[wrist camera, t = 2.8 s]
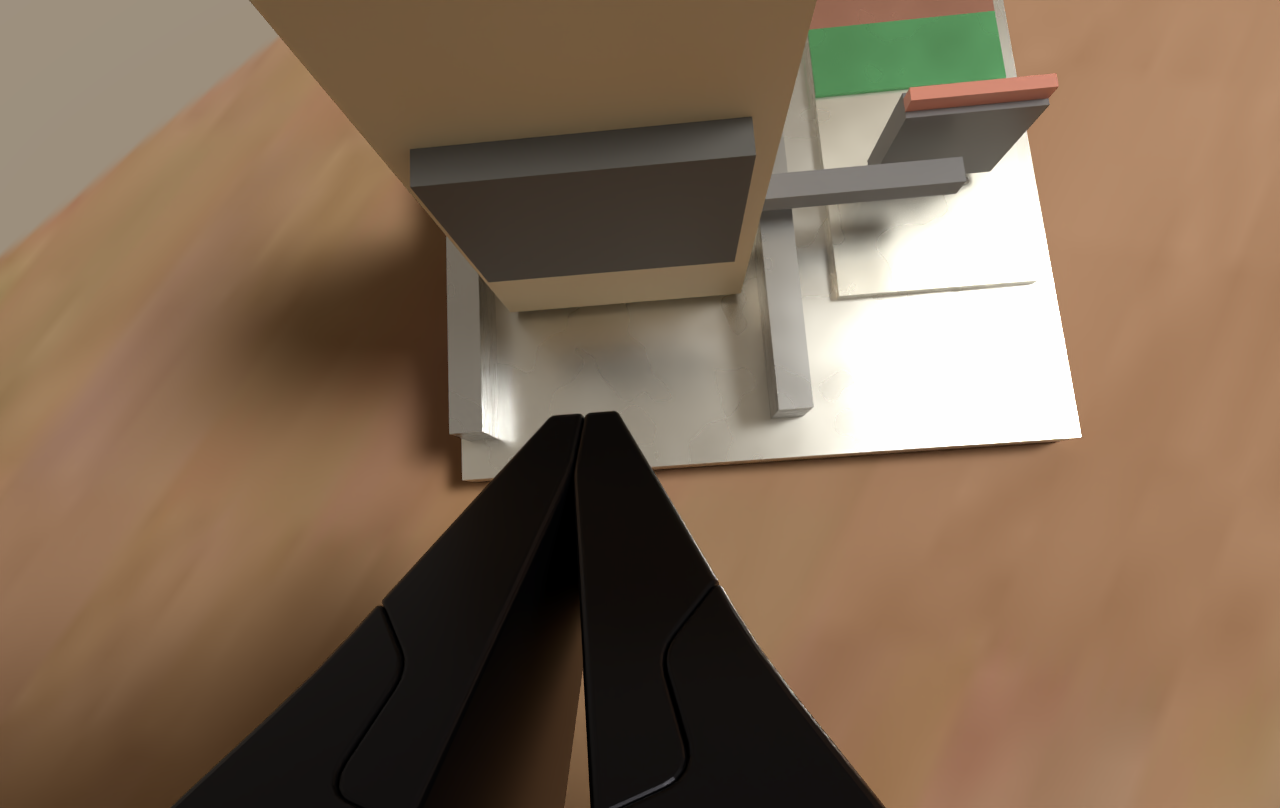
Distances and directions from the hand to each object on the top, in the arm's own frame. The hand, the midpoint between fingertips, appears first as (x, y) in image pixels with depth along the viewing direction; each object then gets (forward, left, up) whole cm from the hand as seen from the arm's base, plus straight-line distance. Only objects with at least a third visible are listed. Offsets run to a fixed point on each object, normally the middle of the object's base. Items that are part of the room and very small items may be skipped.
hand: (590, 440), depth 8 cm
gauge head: (-1, -6, -8) cm, 11 cm away
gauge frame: (-1, -7, -10) cm, 12 cm away
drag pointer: (-6, -9, -8) cm, 13 cm away
